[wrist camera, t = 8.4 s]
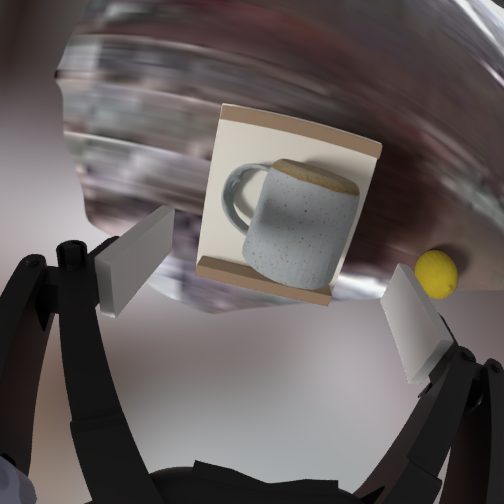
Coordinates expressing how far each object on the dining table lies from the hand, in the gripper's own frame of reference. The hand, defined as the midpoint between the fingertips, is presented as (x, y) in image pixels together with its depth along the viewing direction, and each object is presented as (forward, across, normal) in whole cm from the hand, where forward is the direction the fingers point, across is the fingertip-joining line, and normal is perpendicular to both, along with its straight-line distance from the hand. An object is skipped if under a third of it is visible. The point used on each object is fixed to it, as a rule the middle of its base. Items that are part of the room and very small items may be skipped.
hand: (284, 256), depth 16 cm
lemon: (+19, +20, -5) cm, 28 cm away
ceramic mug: (+11, 0, 0) cm, 11 cm away
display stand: (+18, 0, -1) cm, 19 cm away
